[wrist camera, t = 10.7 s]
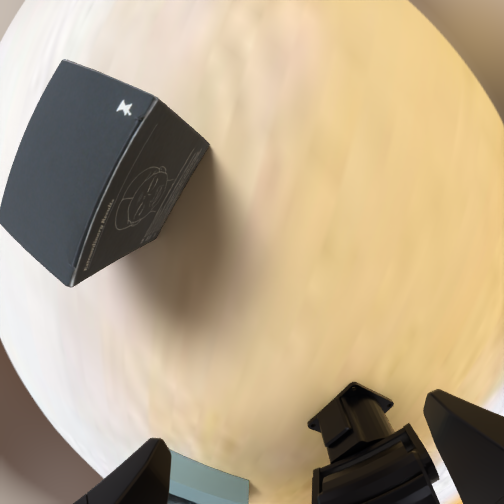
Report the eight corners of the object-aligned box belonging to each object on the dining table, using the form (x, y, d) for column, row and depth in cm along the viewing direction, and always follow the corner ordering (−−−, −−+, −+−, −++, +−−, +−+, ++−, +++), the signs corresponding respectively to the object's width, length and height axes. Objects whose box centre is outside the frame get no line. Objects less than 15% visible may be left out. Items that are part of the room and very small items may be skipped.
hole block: (248, 480, 25) (248, 505, 22) (202, 504, 28) (199, 524, 24) (158, 444, 24) (150, 470, 20) (128, 473, 26) (120, 493, 22)
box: (147, 109, 17) (61, 54, 7) (212, 144, 18) (164, 95, 7) (97, 203, 19) (-8, 222, 8) (155, 242, 19) (69, 294, 9)
